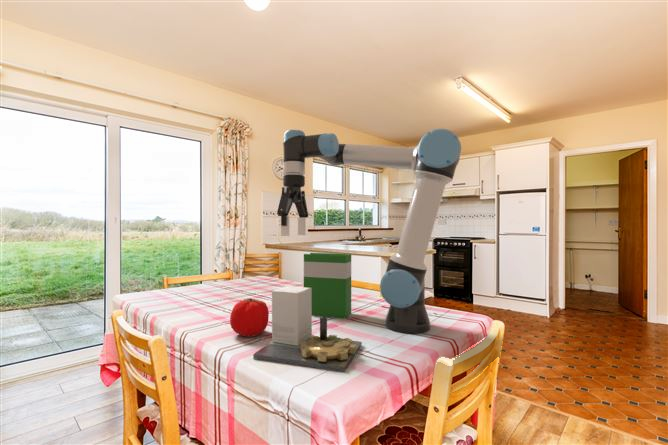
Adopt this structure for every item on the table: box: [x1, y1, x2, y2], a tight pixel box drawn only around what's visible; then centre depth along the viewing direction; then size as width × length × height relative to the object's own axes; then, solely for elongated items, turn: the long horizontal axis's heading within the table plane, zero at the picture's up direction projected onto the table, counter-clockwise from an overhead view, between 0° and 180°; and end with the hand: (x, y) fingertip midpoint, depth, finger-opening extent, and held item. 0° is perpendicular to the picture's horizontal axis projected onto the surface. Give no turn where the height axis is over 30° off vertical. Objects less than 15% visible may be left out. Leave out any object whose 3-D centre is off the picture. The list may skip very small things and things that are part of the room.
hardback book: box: [303, 252, 352, 319], centre depth 129 cm, size 18×7×24 cm, turn 71°
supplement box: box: [271, 285, 313, 346], centre depth 96 cm, size 9×9×15 cm
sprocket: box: [300, 316, 356, 362], centre depth 87 cm, size 15×15×8 cm
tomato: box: [229, 298, 270, 338], centre depth 105 cm, size 12×13×12 cm
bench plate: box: [253, 335, 363, 373], centre depth 90 cm, size 25×18×1 cm
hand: (293, 235), depth 114 cm, fingers open, 13 cm apart
